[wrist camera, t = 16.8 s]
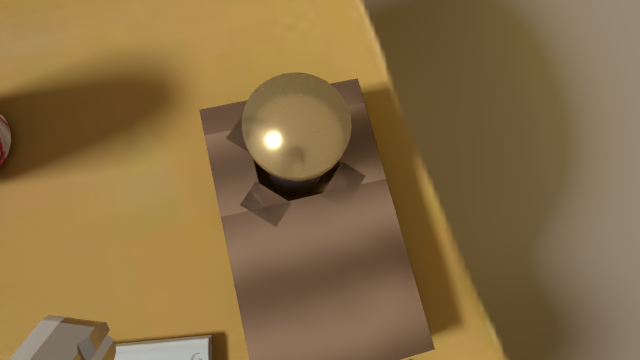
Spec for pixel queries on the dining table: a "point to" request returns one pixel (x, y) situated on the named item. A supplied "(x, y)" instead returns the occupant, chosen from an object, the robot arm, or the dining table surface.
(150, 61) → the dining table surface
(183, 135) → the dining table surface
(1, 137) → the soda can
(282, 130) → the knob
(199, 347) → the hard drive
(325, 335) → the jig
